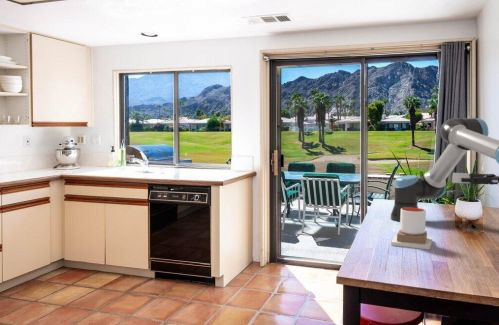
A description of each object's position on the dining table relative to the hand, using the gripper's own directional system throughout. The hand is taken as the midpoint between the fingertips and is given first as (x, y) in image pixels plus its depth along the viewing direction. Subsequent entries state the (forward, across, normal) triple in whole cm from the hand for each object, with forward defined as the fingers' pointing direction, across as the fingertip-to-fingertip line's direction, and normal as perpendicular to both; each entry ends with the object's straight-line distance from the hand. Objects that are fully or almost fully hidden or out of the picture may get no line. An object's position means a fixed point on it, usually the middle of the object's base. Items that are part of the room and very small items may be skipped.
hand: (452, 177), depth 187 cm
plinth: (+15, -8, -28) cm, 33 cm away
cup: (+15, -8, -24) cm, 29 cm away
